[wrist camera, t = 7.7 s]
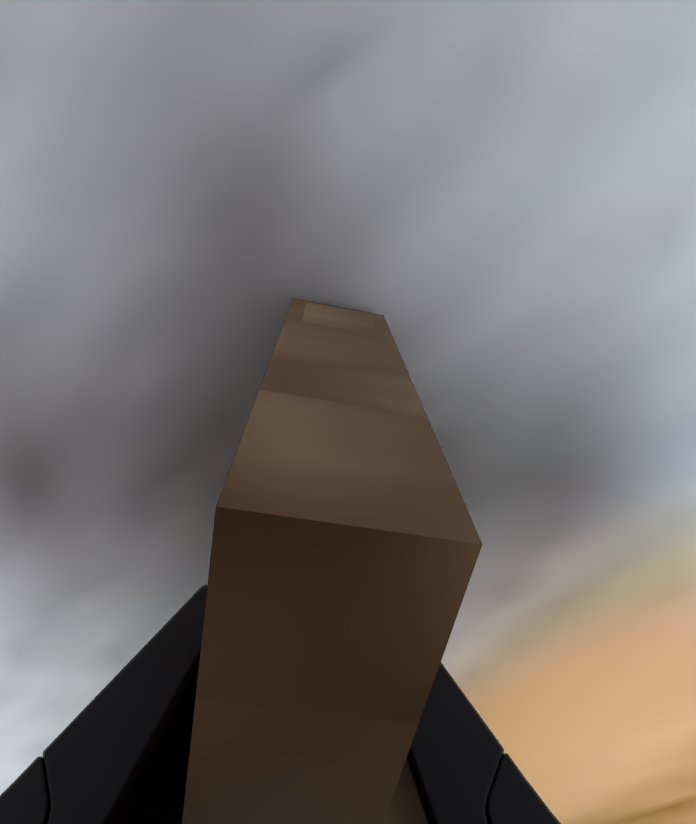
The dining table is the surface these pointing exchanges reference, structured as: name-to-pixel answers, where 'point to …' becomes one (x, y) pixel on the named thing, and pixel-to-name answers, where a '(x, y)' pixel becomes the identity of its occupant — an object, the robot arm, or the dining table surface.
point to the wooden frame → (325, 584)
